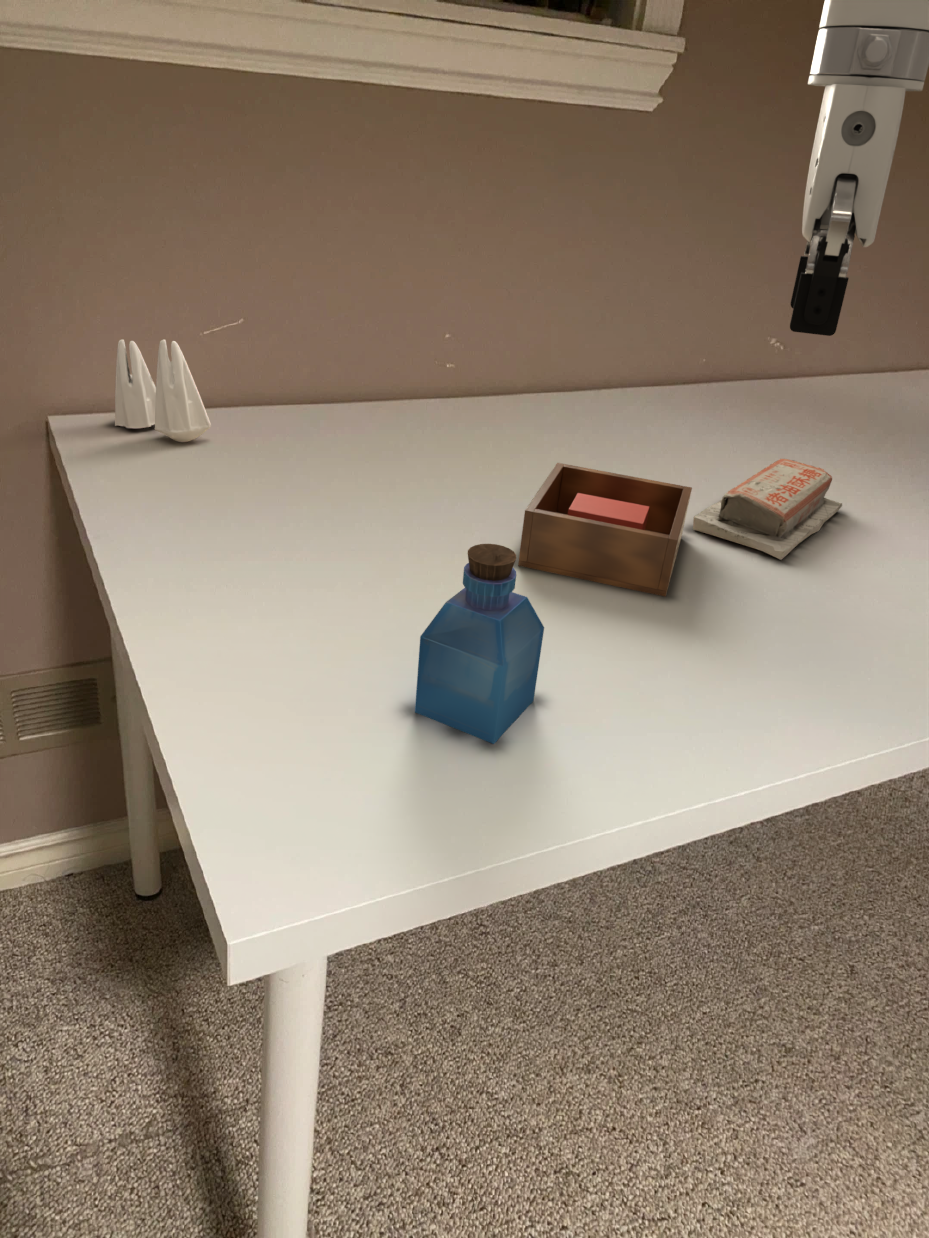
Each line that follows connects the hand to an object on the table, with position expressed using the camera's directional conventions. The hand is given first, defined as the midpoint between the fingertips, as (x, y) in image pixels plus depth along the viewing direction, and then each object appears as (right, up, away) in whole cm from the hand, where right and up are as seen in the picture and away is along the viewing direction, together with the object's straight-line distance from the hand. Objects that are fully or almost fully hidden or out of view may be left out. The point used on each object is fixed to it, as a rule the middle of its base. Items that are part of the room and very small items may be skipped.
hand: (810, 320), depth 73 cm
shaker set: (-62, -2, +36) cm, 72 cm away
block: (-13, -16, +18) cm, 28 cm away
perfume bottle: (-26, -29, -6) cm, 40 cm away
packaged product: (+6, -13, +29) cm, 32 cm away
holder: (-13, -17, +18) cm, 28 cm away
